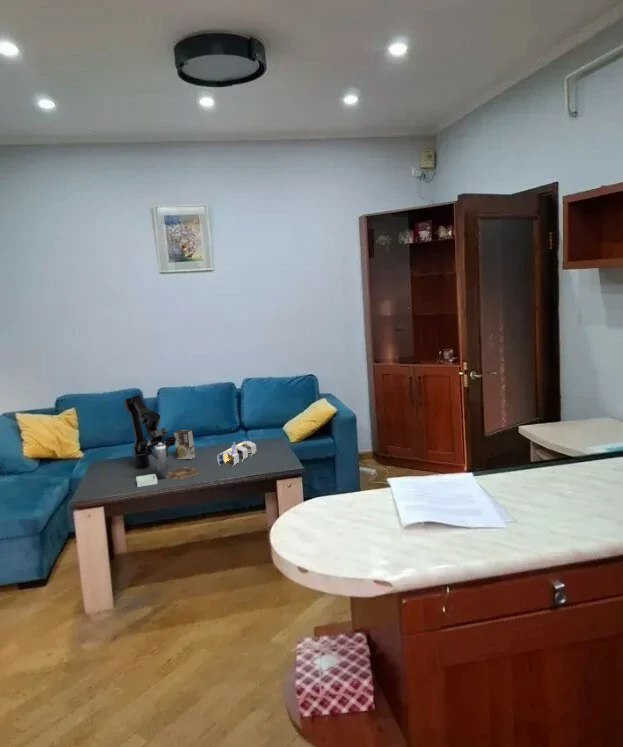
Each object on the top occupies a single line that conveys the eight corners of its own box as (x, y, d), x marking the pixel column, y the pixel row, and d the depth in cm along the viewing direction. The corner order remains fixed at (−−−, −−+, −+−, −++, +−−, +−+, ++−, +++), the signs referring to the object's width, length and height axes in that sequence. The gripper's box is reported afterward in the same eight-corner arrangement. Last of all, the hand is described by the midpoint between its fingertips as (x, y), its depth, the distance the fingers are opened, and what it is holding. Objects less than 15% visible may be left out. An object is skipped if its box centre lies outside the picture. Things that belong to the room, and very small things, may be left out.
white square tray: (136, 482, 301) (135, 476, 301) (155, 479, 304) (155, 473, 304) (137, 487, 292) (137, 482, 292) (157, 484, 295) (157, 478, 295)
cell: (155, 470, 299) (152, 444, 297) (162, 467, 304) (159, 441, 302) (163, 471, 297) (160, 444, 295) (169, 468, 301) (167, 442, 299)
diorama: (234, 467, 318) (232, 443, 316) (218, 466, 322) (216, 442, 320) (256, 454, 341) (254, 432, 339) (241, 453, 345) (239, 431, 343)
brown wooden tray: (164, 477, 307) (163, 472, 307) (183, 470, 317) (183, 465, 317) (180, 481, 299) (179, 476, 298) (200, 473, 309) (199, 469, 308)
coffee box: (195, 456, 343) (193, 429, 341) (190, 460, 337) (188, 432, 335) (181, 456, 345) (178, 429, 343) (176, 459, 339) (173, 432, 337)
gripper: (137, 426, 295) (146, 452, 288) (173, 420, 305) (183, 445, 298) (134, 439, 303) (143, 464, 295) (169, 432, 313) (178, 457, 305)
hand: (162, 457), depth 298 cm, fingers closed on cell, 5 cm apart
